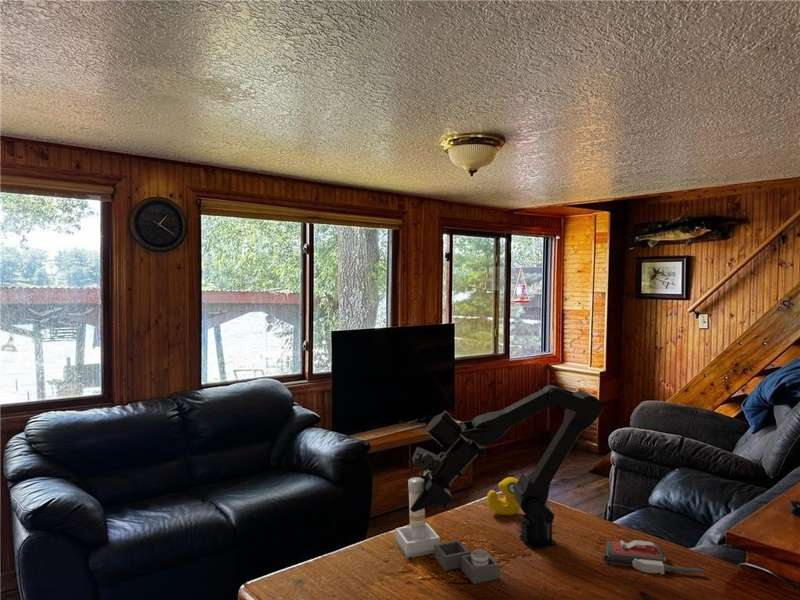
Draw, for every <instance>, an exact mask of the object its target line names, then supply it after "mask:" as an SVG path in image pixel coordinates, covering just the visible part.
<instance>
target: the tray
mask: <svg viewBox="0 0 800 600" xmlns="http://www.w3.org/2000/svg"><path fill="white" fill-rule="evenodd" d="M425 532H426V534H425V536H423V537H420V538H415V537H412V536H410V528H409V525H408V526H402V527H397V528H395V543H396V545H397V546H398V547H399V549H400V550H401V552H402V551H403V552H402V553H403V554H405V555H404V556H405V558H406V559H410V558H409V557H412V558H416V557H415V556H417V557H422V556H425V555H426V556H427V555H431V553H432V554H435V552H434V545H435V544H440V543H441V538H440V536H439V535H438V534H437V533H436V531H435V530H434V529H433V528H432V527H431V526H430V525H429V523H428V522H425Z"/></svg>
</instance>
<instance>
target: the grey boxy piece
mask: <svg viewBox="0 0 800 600" xmlns="http://www.w3.org/2000/svg"><path fill="white" fill-rule="evenodd" d="M460 568H461V571H462V572H463V574H464V575H466V577H467V578H468V579H469V581H470V582H471V583H472V584H474V585H475V584H480V583H484V582H488V581H492V580H498V579H501V578H500V577H501V576H500V575H501V574H500V564H499V562H498V561H497V560H495V559H494V558H493V557H492V555H491V554H489V561H488V565H485V566H481V567H476V568H475V567H474V566H473V565H472V560H471V553H470V555H465V556H461V567H460Z"/></svg>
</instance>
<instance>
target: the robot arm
mask: <svg viewBox="0 0 800 600" xmlns="http://www.w3.org/2000/svg"><path fill="white" fill-rule="evenodd" d="M553 406H559V407H561V408H564V416H563V420H562V423H561V425H560V427H558V430H557V431H556V433H555V435H554V436H553V438H552V440H551V442H550V443H549V445H548V447H547V448H546V450H545V452H544V453H543V455H542V456H541V458H540V460H539V462H538V463H537V464H536V466H535V467H534V469H533V470H532V472H530V473H529V474H525V473H524V472H521V474H520V476H519V479H518V480H519V481H518V482H517V483H516V484H515V485H514V487H515V490H514V497H515V500H516V501H517V503H518V505H519V506H520V508H521V509H520V510H521V511H522V512H523V513H524V514H523V515H522V522H521V524H520V529H521V531H520V532H521V533H520V534H519V539H520V540H522V541H523V542H524V543H525V544H526V545H528V546H529V547H530V548H531V549H533V550H536V549H540V548H546V547H549V546H556V545H557V542H556V541H555V540H554V539H553V521H554V518H555V514H554V512H553V511H552V510H551V508H550V507H549V506H548V505H547V502H548V499H549V494H550V487H551V483H552V481H553V480H554V478H555V476H556V475H557V473H558V471H559V470H560V468H561V466H562V464H563V463H564V461H565V460H566V458H567V456H568V454H569V453H570V451H571V450H572V448H573V446H574V445H575V443H576V442H577V440H578V438H579V436H580V435H581V433H582V432H583V431H586V429H588V428H590V427H591V426H593V424H594V423H595V422H596V421H597V419H599V417H600V416H601V415H602V411H603V407H602V406H603V405H602V403H601V401H600V399H598V398H597V397H596V396H594V395H592V394H590V393H588V392H587V391H584V390H578V391H572V390H569V389H564V388H560V387H557V386H555V385H553V384H548V385H546V386H545V385H544V387H543V388H542V389H540V390H537V391H536V392H534V393H532V394H530V395H528V396H525V397H524V398H523V399H522V398H521V399H520V400H519V401H517V402H514V403H513V404H510V405H508V406H507V407H505V408H503V409H500V410H496V411H490V412H486V413H483V414H480V415H477V416H475V417H474V418H473V419H471V420H466V421H461V422H458V421H456V420H455V419H454V418H453V417H452V416H451V415H450V413H449V412H447V411H446V410H443V412H441V413H439V414H437V415H436V416H435V417H433V418H432V419H431V420H430V421H429V422H428V424H427V426H426V427H425V430H424V431H425V432H426V434H427V435H428V436H430V438H432V439H433V440H435V442H436V443H437V444H439V445H440V446H441V447H442V448H445V447H446V448H449V449H447V451H446V452H444V451H442V452H440V453H438V455H437V454H436V453H434V452H431V451H429V450H427V449H425V448H422V447H419V446H417V447H416V448H415V451H414V453H413V454H412V455H413V456H412V457H411V460H412V464H413V465H414V466H416V467H419V468H421V469H425V470H424V471H422V470H419V475H420V477H419V478H422V479H424V482H423V491H422V492H421V494H420V495H419V497H418V498H417V499H416V501H415V502H414V504H413V505H412V507H411V508H410V509H411V511H412V512H416V511H418V510H421V509H424V510H425V509H426V508H429V507H431V506H435V505H439V504H440V505H441V506H442V507H443V508H444V509H445V510H447V509H448V508H449V506H451V504H453V498H452V497H453V496H452V494H451V490H450V489H451V488H452V486H451V484H452V482H453V481H454V480H456V478H457V477H458V476H459V478H462V476H463V475H464V473H463V471H464V470H465V469H466V468H467V467H468V466H469V464H470V463H471V462H472V461H474V459H476V457H478V456H479V457H480V458H481V459H482V460H483V461H486V460H487V456H486V455H487V454H486V452H487V448H486V446H491V445H493V444H494V443H496V442H497V441H498V440H499V439H501V438H502V437H504V435H505V434H506V433H507V432H508V431H509V430H510V429H511V428H512V427H514V426H516V425H517V424H520V423H522V422H523V421H525V420H527V419H529V418H531V417H533V416H536V415H537V414H539V413H540V412H543V411H544V410H546V409H548V408H550V407H553ZM479 444H480V445H479Z"/></svg>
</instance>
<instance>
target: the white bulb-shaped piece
mask: <svg viewBox="0 0 800 600" xmlns="http://www.w3.org/2000/svg"><path fill="white" fill-rule="evenodd" d="M407 481H408V483H407V485H408V487H407V488H408V501H409V502H408V504H409V505H408V509H409V513H408V516H409V525H408V526H409V528H410V536H412V537H415V538H420V537H423V536H425V534H426V532H425V523H426V513H425V511H426V510H425V508H424V509H421V510H418V511H416V512H412V511H411V509H410V508H411V507H412V505H413V504H414V502H415V501H416V499H417V498H418V497H419V495H420V494H421V492H422V491H423V482H424V479H422V478H420V477H411V478H409V479H408V480H407Z"/></svg>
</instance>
